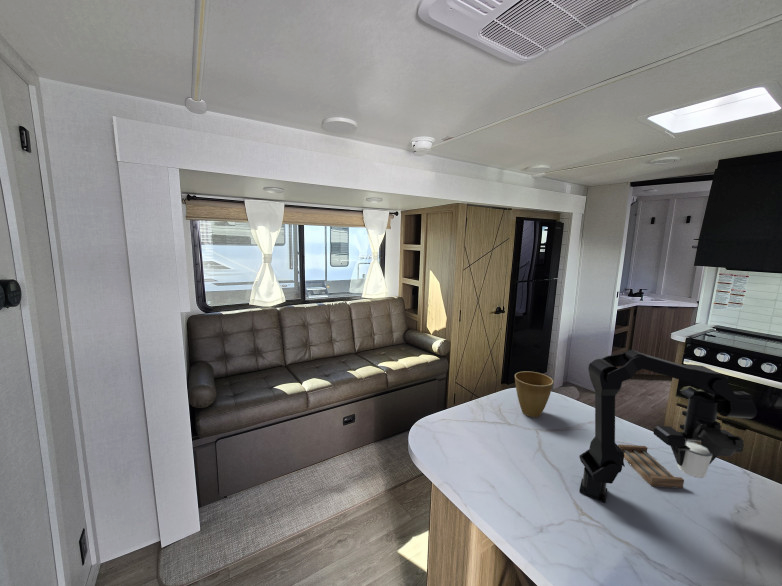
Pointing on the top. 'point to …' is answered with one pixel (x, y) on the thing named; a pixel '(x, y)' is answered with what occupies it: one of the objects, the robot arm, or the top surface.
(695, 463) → the white tapered cylinder
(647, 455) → the rack
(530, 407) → the plant pot
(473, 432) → the top surface
